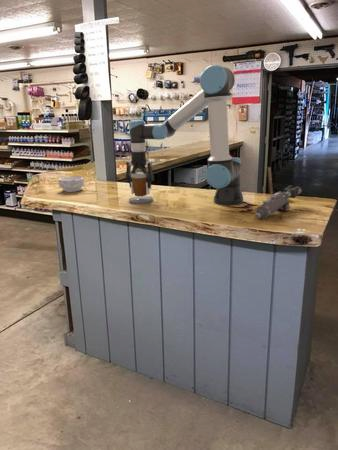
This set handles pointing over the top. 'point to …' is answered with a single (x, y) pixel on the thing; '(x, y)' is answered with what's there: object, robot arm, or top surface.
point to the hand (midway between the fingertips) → (140, 193)
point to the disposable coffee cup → (139, 183)
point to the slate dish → (140, 200)
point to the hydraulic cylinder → (277, 202)
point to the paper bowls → (71, 183)
